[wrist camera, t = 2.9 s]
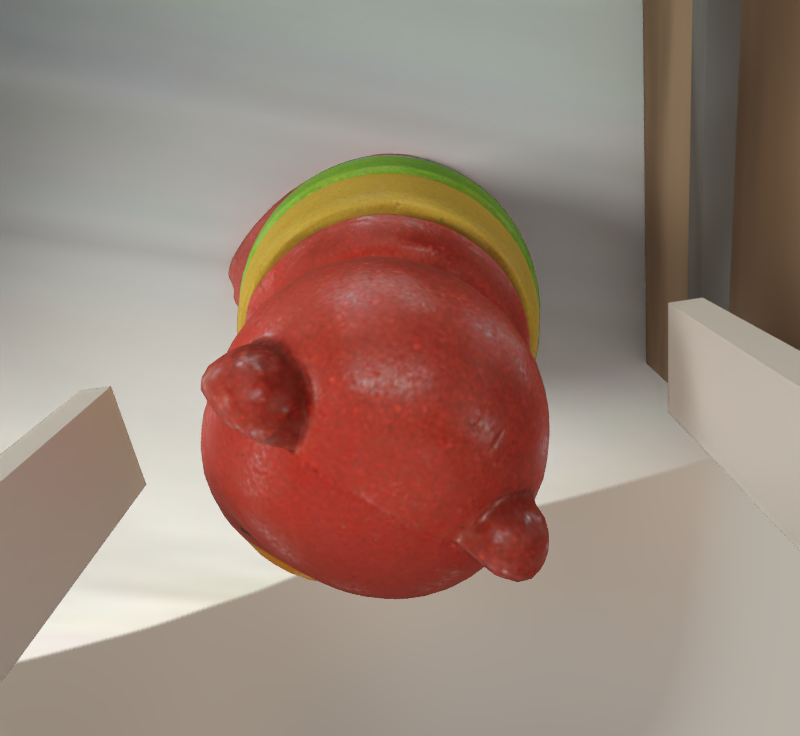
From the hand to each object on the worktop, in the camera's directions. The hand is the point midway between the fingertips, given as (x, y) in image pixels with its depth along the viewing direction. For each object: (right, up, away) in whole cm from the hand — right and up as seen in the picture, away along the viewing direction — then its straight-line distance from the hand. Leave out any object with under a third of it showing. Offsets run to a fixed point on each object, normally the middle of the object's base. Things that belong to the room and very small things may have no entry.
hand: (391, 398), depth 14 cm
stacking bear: (0, +5, +12) cm, 13 cm away
